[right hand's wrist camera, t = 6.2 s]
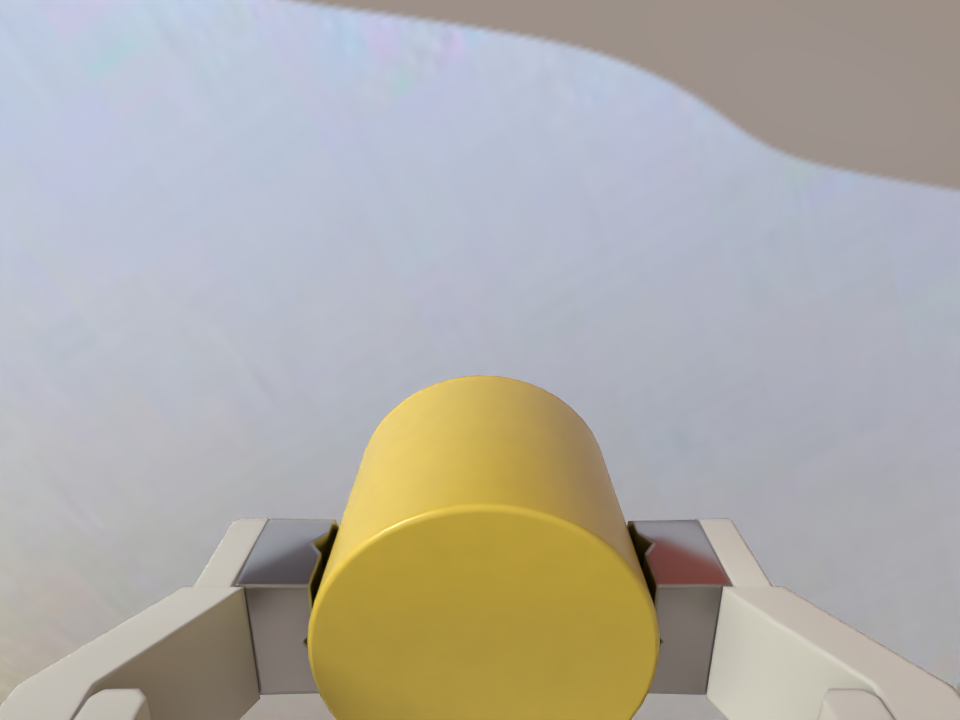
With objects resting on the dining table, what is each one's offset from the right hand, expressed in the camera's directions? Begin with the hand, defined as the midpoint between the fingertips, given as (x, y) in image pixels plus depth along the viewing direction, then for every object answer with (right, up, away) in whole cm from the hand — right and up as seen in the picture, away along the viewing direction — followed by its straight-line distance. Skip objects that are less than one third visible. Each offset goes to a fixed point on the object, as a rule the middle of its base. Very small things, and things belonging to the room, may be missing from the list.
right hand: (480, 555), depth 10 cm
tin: (0, +1, +2) cm, 2 cm away
